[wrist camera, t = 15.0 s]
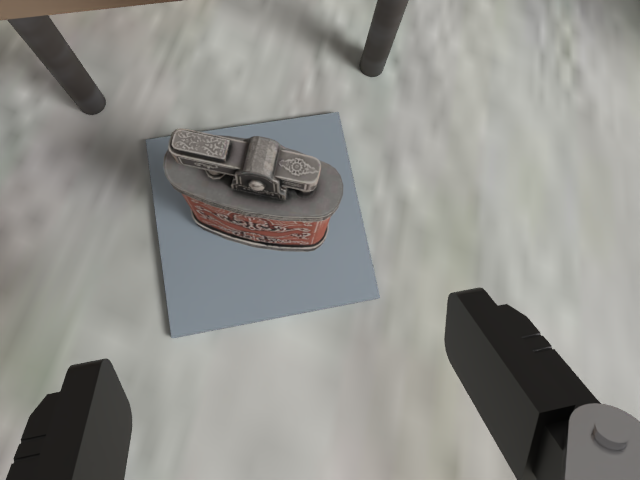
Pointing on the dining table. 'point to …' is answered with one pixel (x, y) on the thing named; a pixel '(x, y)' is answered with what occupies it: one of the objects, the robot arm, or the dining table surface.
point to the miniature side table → (51, 48)
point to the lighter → (254, 189)
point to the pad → (255, 263)
